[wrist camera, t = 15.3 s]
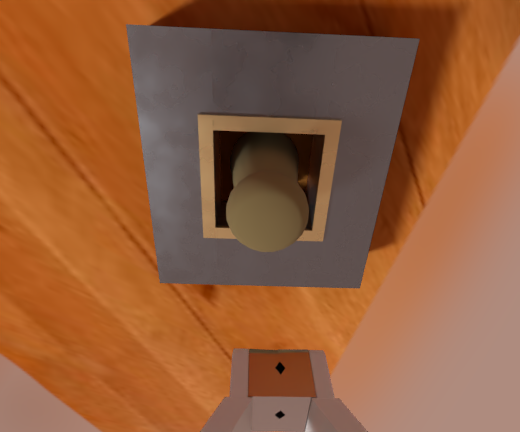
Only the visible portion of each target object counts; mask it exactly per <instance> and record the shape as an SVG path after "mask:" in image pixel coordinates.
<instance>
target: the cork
mask: <svg viewBox="0 0 520 432" xmlns="http://www.w3.org/2000/svg"><path fill="white" fill-rule="evenodd" d="M298 164H299V157H298V153H297V149H296V147H295V145H294V144H293V142H292V141H291V139H290V138H288V137H287V136H286V135H285V134H283V133H270V132H248V133H246V134H245V135H243V136H242V137H241V138H239V140H238V141H237V143H236V144H235V145H234V147H233V149H232V153H231V156H230V168H231V173H232V179H233V185H234V189H233V190H232V191H231V193H230V196H229V199H228V202H227V206H226V219H227V222H228V225H229V227H230V230H231V232H232V234H233V235H234V236H235V238H236V239H237V240H238V241H239V242H240V243H242V244H243V245H245V246H247V247H248V248H250V249H253V250H256V251H260V252H275V251H279V250H282V249H285V248H286V247H288V246H290V245H291V244H293V243H295V242H296V240H297V239H298V238H299V237H300V236H301V235H302V234H303V232H304V230H305V228H306V226H307V223H308V216H309V206H308V202H307V198H306V195H305V193H304V191H303V190H302V189H301V187H300V186H299V184H298Z"/></svg>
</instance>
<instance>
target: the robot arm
mask: <svg viewBox="0 0 520 432" xmlns="http://www.w3.org/2000/svg"><path fill="white" fill-rule="evenodd" d="M267 431H283V432H368V431H367V430H366V429H365V428H364V427H363V426H362V424H361V423H360V422H359V421H358V420H357V419H356V417H355V416H354V415H353V414H352V413H351V412H350V410H349V409H348V408H347V407H346V406H345V405H344V404H343V402H342V401H341V400H340V399H339V398H334V393H333V388H332V384H331V379H330V375H329V370H328V365H327V361H326V356H325V353H324V351H323V350H260V349H233V354H232V369H231V383H230V397H225V398H224V399H223V400H222V402H221V403H220V405H219V406H218V407H217V409H216V410H215V412H214V413H213V414H212V416H211V417H210V419H209V420H208V421H207V423H206V424H205V425H204V427H203V428H202V430H201V431H200V432H267Z"/></svg>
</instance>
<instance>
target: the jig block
mask: <svg viewBox="0 0 520 432" xmlns="http://www.w3.org/2000/svg"><path fill="white" fill-rule="evenodd" d="M126 27H127V34H128V42H129V50H130V57H131V65H132V73H133V80H134V88H135V96H136V103H137V111H138V118H139V126H140V134H141V141H142V149H143V157H144V164H145V172H146V180H147V187H148V195H149V202H150V210H151V218H152V225H153V233H154V241H155V248H156V256H157V264H158V271H159V279H160V283H181V284H219V285H256V286H293V287H330V288H360V285H361V281H362V277H363V273H364V268H365V264H366V260H367V256H368V252H369V248H370V243H371V239H372V235H373V231H374V227H375V223H376V219H377V214H378V210H379V206H380V202H381V198H382V194H383V189H384V185H385V181H386V177H387V173H388V169H389V164H390V160H391V156H392V152H393V148H394V144H395V140H396V135H397V131H398V127H399V123H400V119H401V115H402V110H403V106H404V102H405V98H406V94H407V90H408V86H409V81H410V77H411V73H412V69H413V65H414V61H415V56H416V52H417V48H418V44H419V40H420V39H415V38H394V37H374V36H353V35H332V34H312V33H291V32H270V31H250V30H229V29H208V28H187V27H167V26H146V25H126ZM220 131H245V132H270V133H296V134H313V138H312V147H311V155H310V164H309V172H308V180H307V189H306V198H307V202H308V206H309V216H308V223H307V226H306V228H305V230H304V232H303V234H302V235H301V236H300V237H299V238H298V239H297V240H296V242H295V243H293V244H291V245H290V246H288V247H286V248H285V249H282V250H279V251H275V252H260V251H256V250H253V249H250V248H248V247H247V246H245V245H243V244H242V243H240V242H239V241H238V240H237V239H236V238H235V236H234V235H233V234H232V232H231V230H230V227H229V225H228V222H227V219H226V206H227V202H226V201H221V165H220Z"/></svg>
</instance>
